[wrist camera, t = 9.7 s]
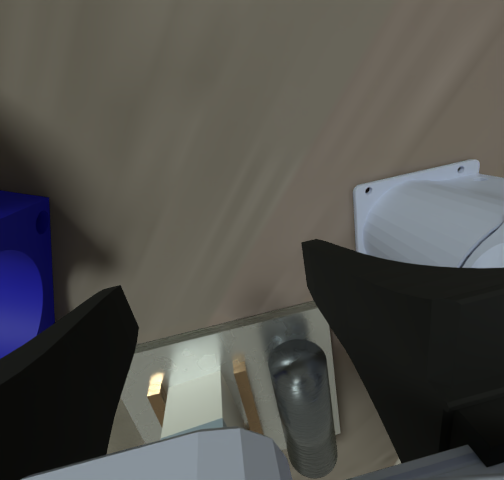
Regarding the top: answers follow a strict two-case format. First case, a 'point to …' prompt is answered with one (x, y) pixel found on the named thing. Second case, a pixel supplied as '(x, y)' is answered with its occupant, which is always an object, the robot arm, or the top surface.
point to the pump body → (200, 406)
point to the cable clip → (24, 269)
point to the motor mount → (251, 380)
